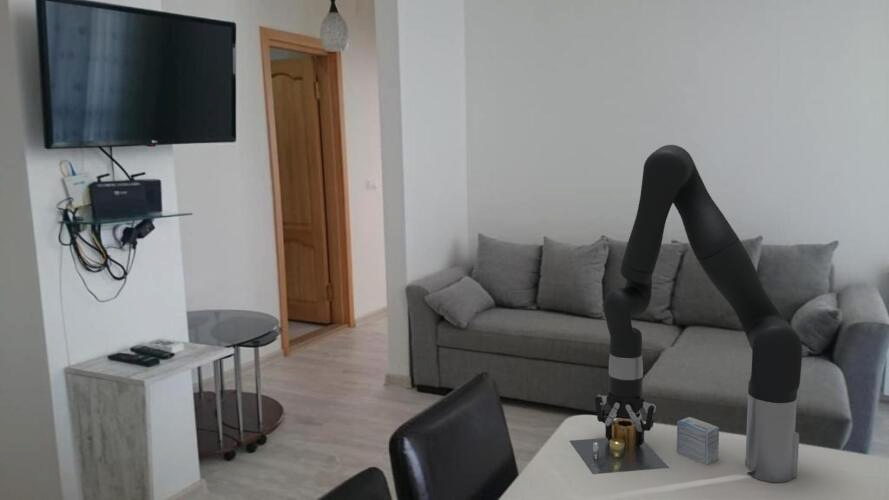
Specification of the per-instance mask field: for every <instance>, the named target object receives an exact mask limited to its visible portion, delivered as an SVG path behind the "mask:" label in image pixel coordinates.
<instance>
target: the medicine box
mask: <svg viewBox="0 0 889 500" xmlns="http://www.w3.org/2000/svg"><path fill="white" fill-rule="evenodd" d="M676 423H677V424H676V428H677V429H676V453H678V454H680V455H683V456H685V457H688V458H689V459H693V460H695V461H697V462H699V463H701V464H703V465H704V464H705V465H710V464H712V463H714V462H715V461H716V462H717V461H719V447H720V446H719V445H720V444H719V442H720V440H719V439H720V427H719V426H716V425H714V424H712V423H708V422H705V421H702V420H700V419H697V418H694V417H691V416H688V417H684V418H683V419H681V420H678V421H677V422H676Z"/></svg>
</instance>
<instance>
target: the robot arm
mask: <svg viewBox="0 0 889 500" xmlns="http://www.w3.org/2000/svg"><path fill="white" fill-rule="evenodd" d="M641 179H642V180H641V185H640V186H641V188H640V189H641V190H640V196H639V202H638V207H637V211H636V215H635V219H634V222H633V225H632V229H631V232H630V235H629V238H628V241H627V244H626V247H625V251H624V254H623V258H622V261H621V265H620V268H619V269H620V275H621V277H623V279H625V280H626V282H625V286H624V287H618V288H614V289H612V290H611V291H609V292H608V293H607V295H606V296H605V298H604V300H603V301H604V302H603V313H604V317H605V321H606V325H607V330H608V333H609V337H610V339H609V358H608V394H607V395H603V394H602V393H599V394H597V396H595V397H594V403H595V409H596V410H595V411H596V418H597V421H598V422H599V423H603V424H604V425H605V438H608V441H610V439H612V426H611V422H612V421H615V420H616V419H615V418H616V417H617V416H618V417H626V418H627V419H631V420H632V422H633V423H634V424H635V426H636V428H637V431H636V446H637V447H640V445H642V444H643V442H645V431H646V432H649V431H651V429H652V428H653V427H654V422H655V417H656V416H655V415H656V412H657V404H656V403H655V402H652V403H650V402H646V401H645V400H644V398H643V381H644V380H643V375H644V367H643V366H644V364H643V362H644V361H643V355H642V354H643V336H642V332H641V330H639V329H638V328H636V327H634V326H633V324H632V318H635V317H637V316H638V317H639V316H641V315H642V314H644V313H645V312H646V311H647V309H648V308H649V305H650V303H651V299H652V289H653V287H652V286H653V275H654V271H655V270H656V269H655V268H656V265H657V263H658V259H659V255H660V253H661V252H660V251H661V248H662V243H663V238H664V234H665V233H664V232H665V227H666V224H667V223H666V222H667V219H668V215H669V213H670V210H671V208H672V205H674V207H675V209H676V210H677V212H678V214H679V216H680V219H681V221H682V223H683V227H684V231H685V235H686V237H687V240H688V242H689V245H690V248H691V250H692V252H693V254H694V256H695V258H696V260H697V261H698V263H699V265H700V266H701V268H702V269H703V271H704V273H705V275H706V276H707V277H708V279H709V280H710V282H711V283H712V284H713V285H714V287H715V288H716V290H717V291H718V292H719V293H720V294H721V295H722V296H723V298H724V299H725V300H726V302H727V303H729V305H730V306H731V308H732V309H733V311H734V313H735V314H736V317H737V318H738V320H739V323H740V325H741V327H742V328H743V331H744V333H745V336H746V337H747V342H748V343H749V346H750V348H751V350H752V353H751V371H750V373H751V375H750V378H749V380H748V385H747V386H748V388H747V389H748V390H747V414H746V415H747V416H746V437H745V458H744V459H745V460H744V462H745V463H744V465H745V468H746V469H747V470H749V471H748V472H746V473H747V474H748V475H749V476H751V477H753V478H755V479H757V480H760V481H763V482H769V483H784V482H785V483H786V482H788V481H790V480H792V479H793V478H798V465H799V463H798V462H799V450H800V449H799V448H800V447H799V446H800V434H799V432H797V431H796V417H797V401H798V400H797V398H798V390H799V387H800V384H801V375H802V374H801V373H802V363H803V362H802V361H803V345H802V344H803V343H802V339H801V338H800V337H801V336H800V335H799V334H798V333H797V331H796V330H795V329H794V328H793V326H792V325H791V324H790V323H789V321H787V319H786V318H785V317H784V316H783V315H782V313H781V312H780V311H779V310H778V308H777V307H776V305H774V303H773V302H772V300H771V299H770V298H769V296H768V295H767V293H766V291H765V289H764V287H763V284H762V282H761V279H760V277H759V274H758V272H757V270H756V266H755V264H754V262H753V260H752V259H751V257H750V255H749V253H748V251H747V250H746V248H745V246H744V245H743V243H742V241H741V240H740V238H739V236H738V235H737V232H735V231H734V229H733V227H732V226H731V224H730V223H729V221H728V220H727V218H726V216H725V215H724V214H723V213H722V211H721V209H720V208H719V207H718V205H717V204H716V202H715V201H714V200H713V197H712V196H711V195H710V193H709V191H708V188H707V187H706V185H705V184H704V181H703V179H702V177H701V175H700V173H699V170H698V168H697V166H696V164H695V161H694V160H693V157H692V156H691V154H690V152H688V150H686V149H684V148H683V147H681V146H679V145H676V144H666V145H662V146H660V147H659V148H657V149H656V150H655V151H653V152H652V153H651V154H650V155H649V156H648V157H647V158H646V160H645V161H644V164H643V169H642V178H641ZM606 403H607V404H608V405H609V406H610V408H611V410H610V412H609V414H608V416H607V414H606V408H605V404H606ZM642 408H644V412H645V413H646V420H645V422H644V420H643V415H642V413H641V410H642Z"/></svg>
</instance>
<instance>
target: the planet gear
mask: <svg viewBox="0 0 889 500" xmlns="http://www.w3.org/2000/svg"><path fill="white" fill-rule="evenodd" d="M611 426H612V438H620V439H623V440H624V441H625V442H624V449H629V450H630V449H633V448H634V447H637V446H636V431H637V428H636V426H635V424H634V423H633V422H632V419H631V418H616V419H614V420H613V421H612V422H611Z"/></svg>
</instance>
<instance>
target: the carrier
mask: <svg viewBox="0 0 889 500" xmlns="http://www.w3.org/2000/svg"><path fill="white" fill-rule="evenodd" d="M569 442H570V444H571V446H572V447H573V449H574V450H575V451H576V453H577V455H579V457H580V458H581V460H582V461H583V463H584V464H585V465H586V467H587V468H588V469H589V471H590V473H591V474H592V475H599V474H610V473H611V474H613V473H623V472H637V471H647V470H650V471H651V470H658V469H659V470H660V469H670V466H669V465H667V463H666V462H665V461H664V460H663V459H662V458H661V457H660V456H659V455H658V453H656V452H655V451H654V450H653V449H652V448H651V446H649V445H648V444H647V442H646V441H644V442H643V444H642V445H640V447H634V448H633V449H630V450H629V449H624V442H625V441H624V440H623V439H620V438H612V439H610V441H608V438H606V437H602V438H601V437H600V438H599V437H598V438H587V439H586V438H585V439H573V440H569Z"/></svg>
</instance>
